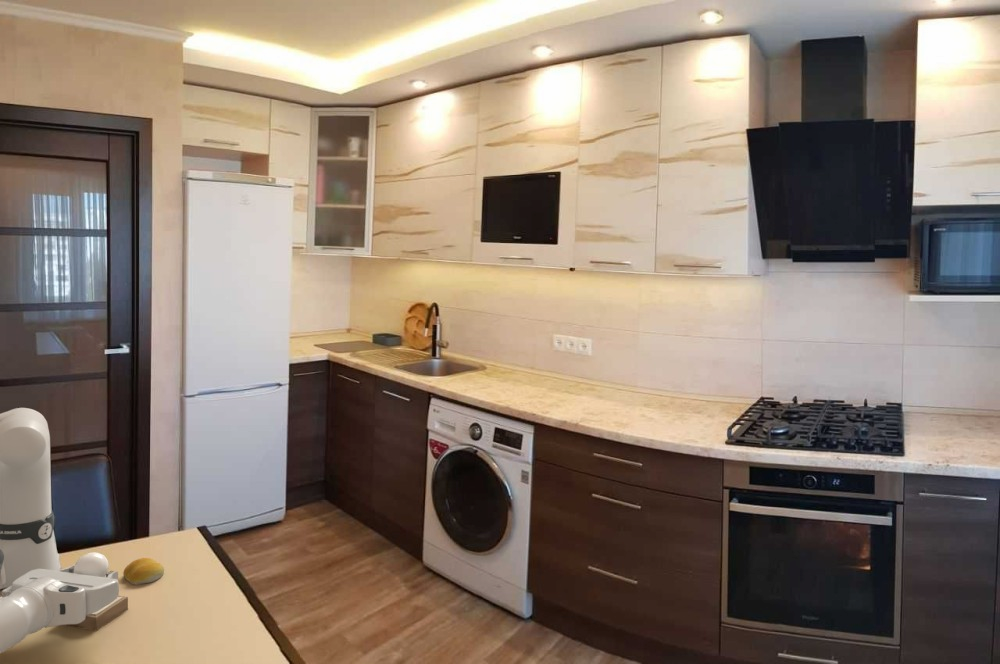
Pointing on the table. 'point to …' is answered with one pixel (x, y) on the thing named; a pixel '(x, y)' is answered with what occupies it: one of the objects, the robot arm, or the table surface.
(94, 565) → the lightbulb
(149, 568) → the bread roll
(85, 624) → the picture frame
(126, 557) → the table surface
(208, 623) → the table surface
